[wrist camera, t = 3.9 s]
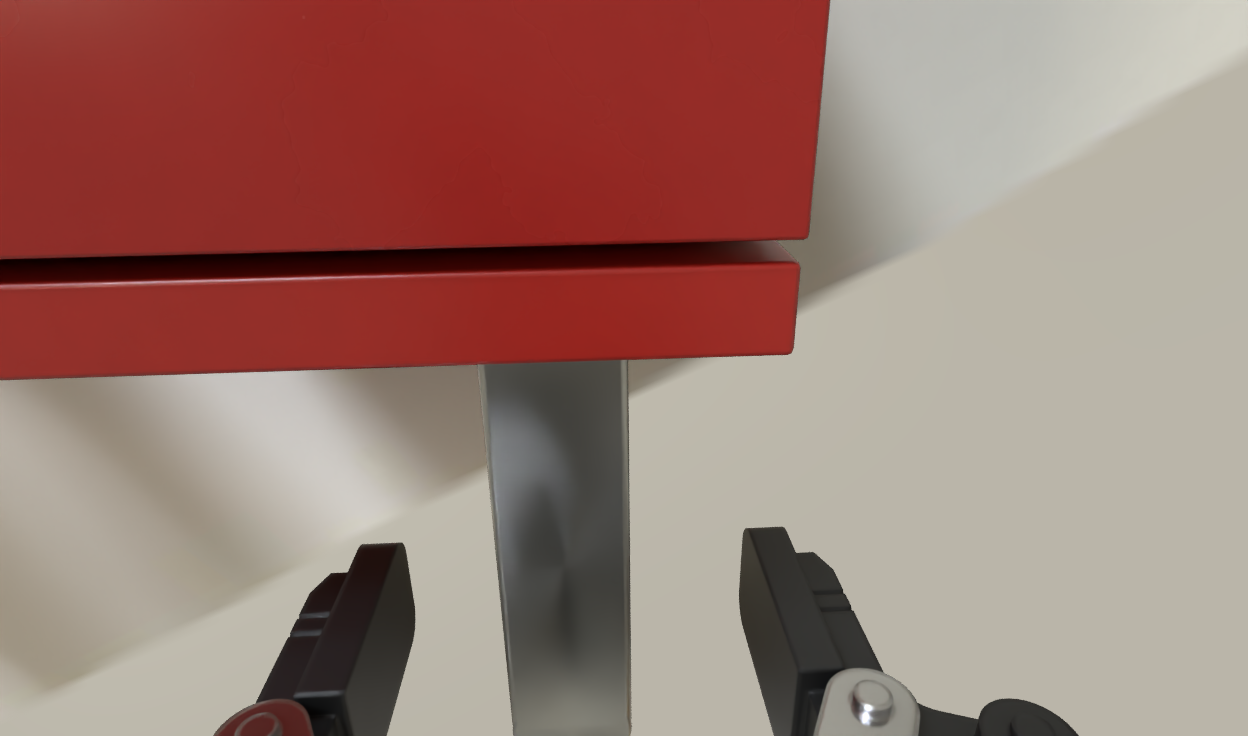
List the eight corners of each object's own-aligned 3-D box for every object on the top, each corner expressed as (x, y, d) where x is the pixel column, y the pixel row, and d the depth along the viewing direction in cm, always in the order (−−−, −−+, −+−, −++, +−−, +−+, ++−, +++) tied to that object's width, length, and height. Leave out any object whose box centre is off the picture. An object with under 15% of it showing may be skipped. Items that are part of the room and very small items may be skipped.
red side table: (637, 295, 30) (757, 780, 10) (184, 308, 29) (-666, 868, 9) (637, 106, 27) (803, 262, 7) (133, 114, 26) (-1274, 317, 6)
